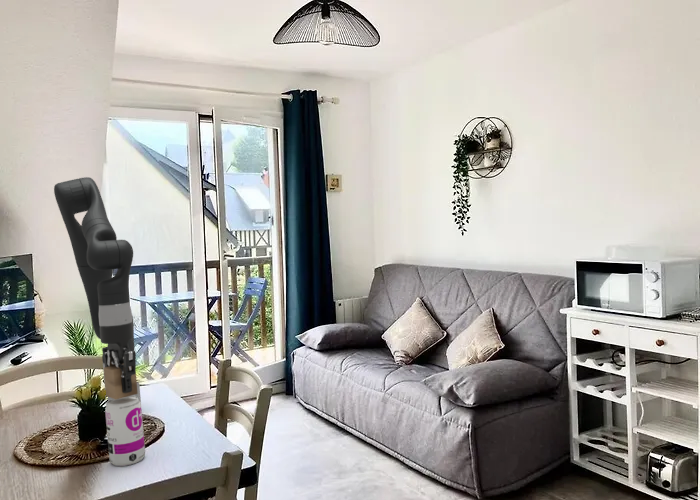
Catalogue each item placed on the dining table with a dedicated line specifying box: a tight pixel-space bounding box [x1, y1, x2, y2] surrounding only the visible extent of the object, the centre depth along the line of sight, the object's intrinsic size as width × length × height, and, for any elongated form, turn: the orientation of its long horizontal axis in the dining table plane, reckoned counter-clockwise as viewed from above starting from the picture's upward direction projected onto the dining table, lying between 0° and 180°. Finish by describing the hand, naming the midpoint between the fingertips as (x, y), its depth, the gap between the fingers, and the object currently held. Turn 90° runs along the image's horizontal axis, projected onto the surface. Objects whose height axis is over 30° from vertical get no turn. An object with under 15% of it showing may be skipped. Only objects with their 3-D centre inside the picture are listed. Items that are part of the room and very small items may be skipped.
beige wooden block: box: [103, 364, 138, 399], centre depth 146 cm, size 6×6×7 cm
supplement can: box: [104, 396, 146, 467], centre depth 147 cm, size 8×8×15 cm
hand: (121, 390), depth 147 cm, fingers closed on beige wooden block, 5 cm apart
